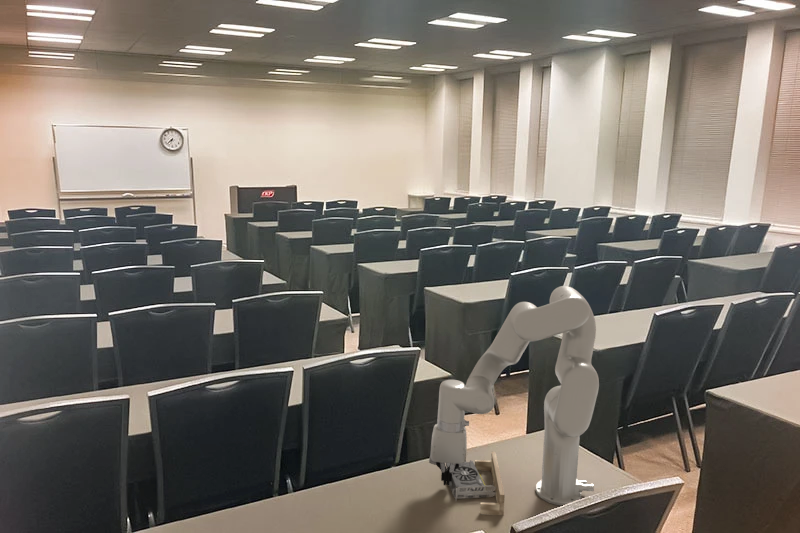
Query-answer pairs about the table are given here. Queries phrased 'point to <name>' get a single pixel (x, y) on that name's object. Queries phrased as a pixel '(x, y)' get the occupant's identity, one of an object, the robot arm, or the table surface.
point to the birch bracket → (494, 468)
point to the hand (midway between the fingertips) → (446, 482)
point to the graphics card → (469, 483)
